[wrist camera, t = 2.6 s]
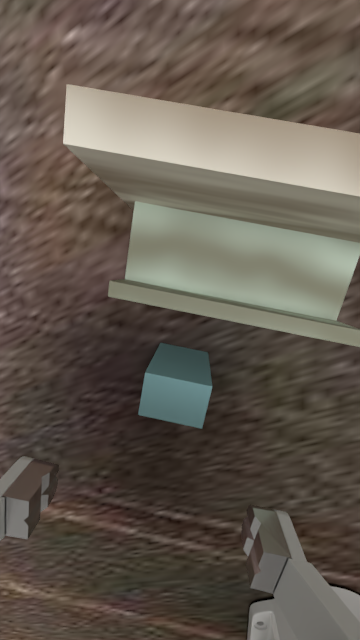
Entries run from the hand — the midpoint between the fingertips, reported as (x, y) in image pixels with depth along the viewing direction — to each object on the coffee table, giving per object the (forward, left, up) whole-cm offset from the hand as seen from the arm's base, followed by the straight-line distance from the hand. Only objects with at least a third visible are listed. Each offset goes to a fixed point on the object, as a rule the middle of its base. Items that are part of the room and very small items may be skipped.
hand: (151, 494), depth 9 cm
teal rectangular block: (0, 0, -15) cm, 14 cm away
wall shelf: (+12, -3, -14) cm, 19 cm away
